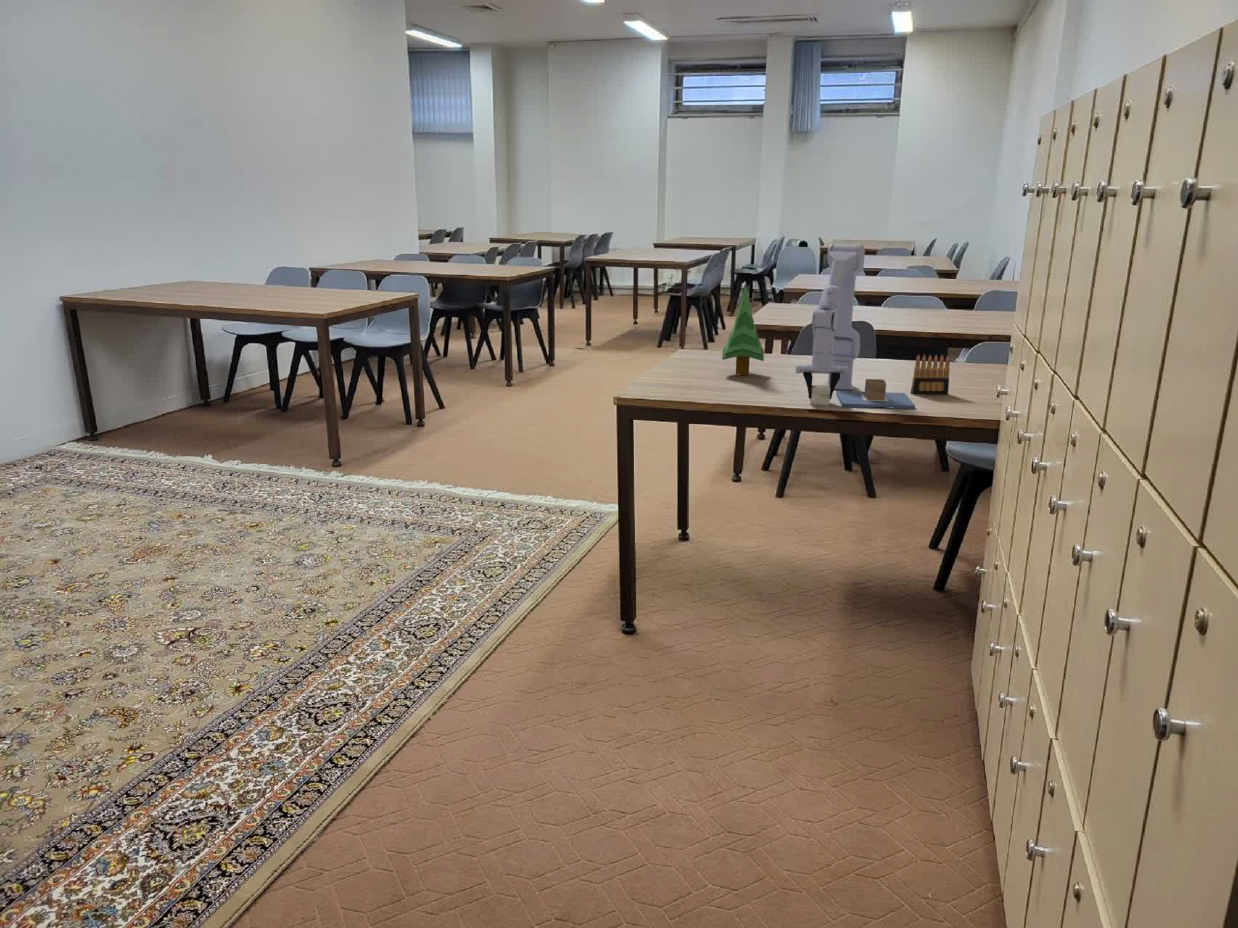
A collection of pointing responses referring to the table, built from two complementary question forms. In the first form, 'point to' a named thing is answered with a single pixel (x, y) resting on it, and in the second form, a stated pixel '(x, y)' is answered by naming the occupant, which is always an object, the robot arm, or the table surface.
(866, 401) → the board
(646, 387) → the table surface
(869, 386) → the walnut block
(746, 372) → the decorative tree
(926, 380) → the ammunition clip
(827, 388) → the off-white block
